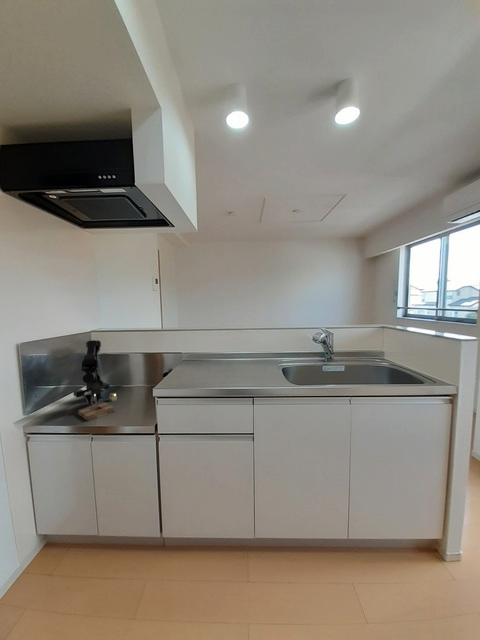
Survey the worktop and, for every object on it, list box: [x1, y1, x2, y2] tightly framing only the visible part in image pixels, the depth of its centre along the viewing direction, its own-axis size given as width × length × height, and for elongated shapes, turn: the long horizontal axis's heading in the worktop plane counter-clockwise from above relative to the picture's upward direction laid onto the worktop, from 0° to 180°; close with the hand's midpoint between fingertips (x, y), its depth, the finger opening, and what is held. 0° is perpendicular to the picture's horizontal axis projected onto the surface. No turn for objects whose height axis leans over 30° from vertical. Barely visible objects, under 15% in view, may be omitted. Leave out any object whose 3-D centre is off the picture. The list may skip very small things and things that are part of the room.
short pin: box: [109, 392, 118, 402], centre depth 168 cm, size 4×4×4 cm
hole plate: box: [77, 401, 115, 422], centre depth 150 cm, size 14×14×2 cm
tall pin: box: [88, 392, 98, 407], centre depth 159 cm, size 4×4×8 cm
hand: (93, 403), depth 159 cm, fingers closed on tall pin, 4 cm apart
